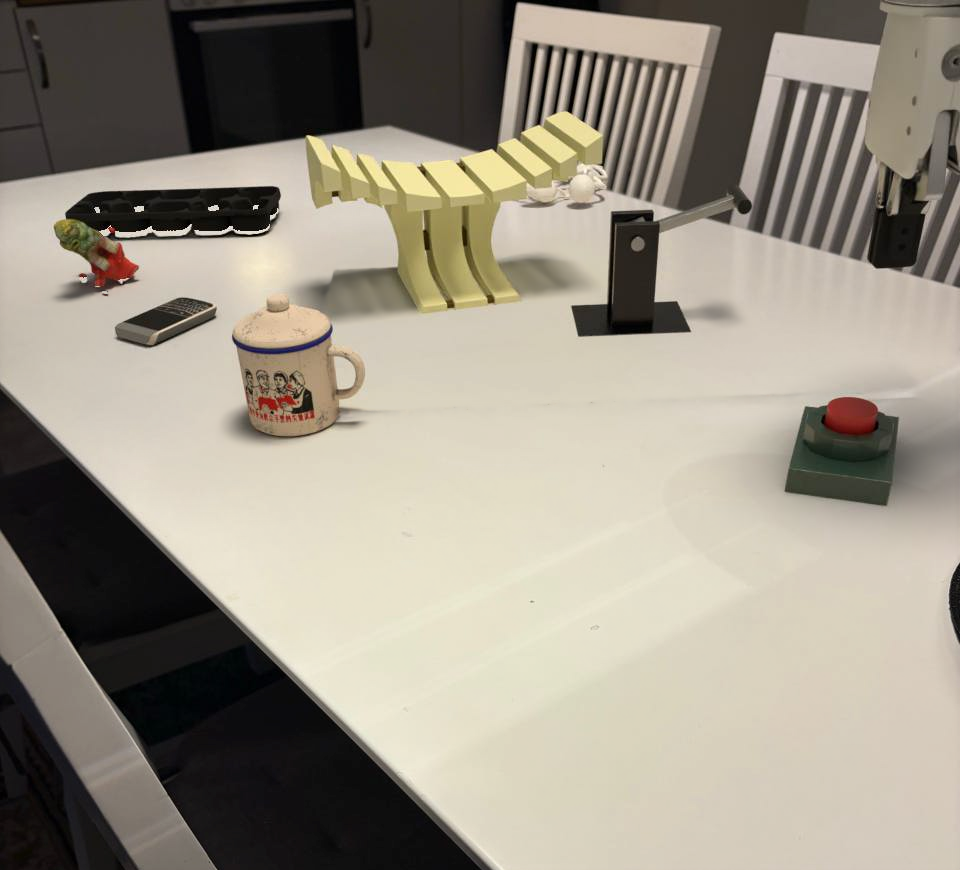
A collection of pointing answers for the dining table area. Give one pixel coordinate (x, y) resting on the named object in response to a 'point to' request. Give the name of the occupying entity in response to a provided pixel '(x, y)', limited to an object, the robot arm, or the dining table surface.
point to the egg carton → (179, 209)
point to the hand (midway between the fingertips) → (890, 263)
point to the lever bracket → (631, 284)
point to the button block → (843, 460)
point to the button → (851, 416)
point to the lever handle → (706, 210)
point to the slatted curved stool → (454, 204)
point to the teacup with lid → (291, 368)
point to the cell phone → (165, 320)
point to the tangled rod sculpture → (574, 185)
